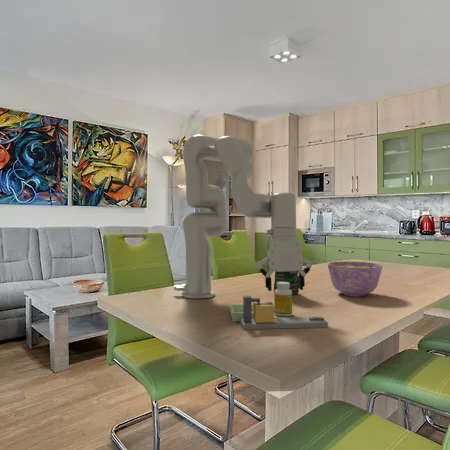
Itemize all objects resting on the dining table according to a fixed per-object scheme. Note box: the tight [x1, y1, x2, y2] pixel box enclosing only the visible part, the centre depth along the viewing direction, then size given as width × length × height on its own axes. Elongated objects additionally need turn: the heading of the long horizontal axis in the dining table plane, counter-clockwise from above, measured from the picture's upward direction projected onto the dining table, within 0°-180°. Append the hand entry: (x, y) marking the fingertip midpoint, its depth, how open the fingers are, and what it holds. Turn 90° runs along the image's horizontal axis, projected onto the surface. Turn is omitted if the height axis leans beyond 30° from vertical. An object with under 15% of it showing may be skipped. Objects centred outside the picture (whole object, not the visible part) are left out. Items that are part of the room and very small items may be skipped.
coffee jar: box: [273, 271, 300, 296], centre depth 141 cm, size 10×8×19 cm
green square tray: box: [229, 303, 253, 323], centre depth 109 cm, size 10×10×2 cm
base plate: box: [240, 316, 329, 330], centre depth 100 cm, size 23×6×2 cm, turn 94°
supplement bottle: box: [273, 282, 293, 317], centre depth 112 cm, size 5×5×10 cm
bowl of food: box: [327, 261, 383, 297], centre depth 141 cm, size 20×20×12 cm
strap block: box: [252, 301, 275, 323], centre depth 100 cm, size 5×5×5 cm
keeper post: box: [242, 295, 261, 323], centre depth 100 cm, size 4×2×8 cm, turn 94°
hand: (285, 289), depth 111 cm, fingers open, 9 cm apart
